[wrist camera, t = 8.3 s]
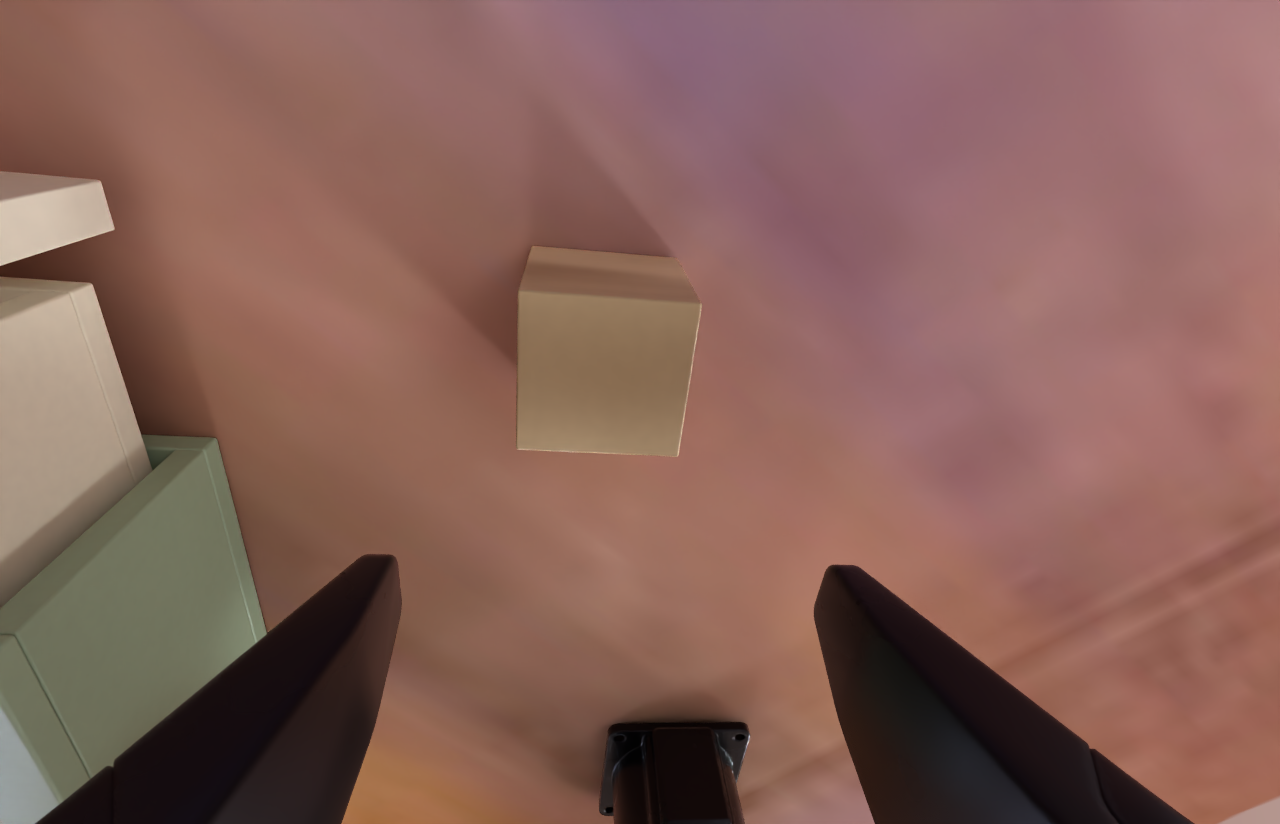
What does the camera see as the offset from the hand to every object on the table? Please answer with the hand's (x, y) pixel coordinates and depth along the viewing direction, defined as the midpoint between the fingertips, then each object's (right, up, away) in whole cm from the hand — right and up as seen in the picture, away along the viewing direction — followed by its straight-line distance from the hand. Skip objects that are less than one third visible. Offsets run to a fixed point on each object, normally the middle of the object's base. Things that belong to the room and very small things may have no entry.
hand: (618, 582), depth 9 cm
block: (-1, +5, +10) cm, 11 cm away
